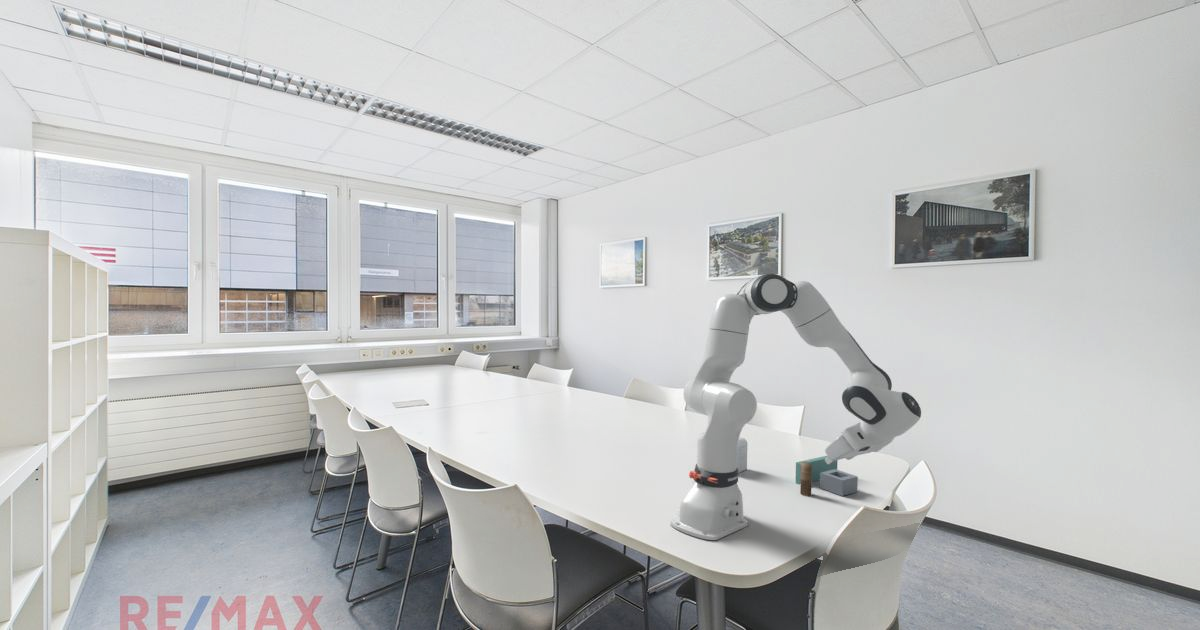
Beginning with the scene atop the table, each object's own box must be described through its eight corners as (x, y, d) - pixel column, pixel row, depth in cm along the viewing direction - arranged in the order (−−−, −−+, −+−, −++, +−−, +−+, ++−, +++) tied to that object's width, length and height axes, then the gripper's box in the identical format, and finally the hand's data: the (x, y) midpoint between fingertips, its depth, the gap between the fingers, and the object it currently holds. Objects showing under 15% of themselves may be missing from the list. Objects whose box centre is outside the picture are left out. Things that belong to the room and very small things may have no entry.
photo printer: (738, 466, 178) (738, 434, 178) (748, 469, 175) (749, 436, 175) (723, 473, 171) (724, 439, 171) (734, 476, 168) (734, 441, 167)
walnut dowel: (809, 496, 150) (810, 465, 150) (799, 494, 152) (799, 463, 152) (812, 494, 152) (813, 463, 152) (802, 491, 154) (802, 461, 154)
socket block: (857, 491, 154) (857, 476, 154) (842, 496, 150) (842, 480, 150) (834, 483, 161) (835, 469, 161) (819, 487, 157) (820, 472, 157)
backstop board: (837, 475, 170) (837, 456, 170) (800, 484, 160) (800, 464, 160) (832, 473, 172) (832, 454, 172) (795, 482, 162) (795, 462, 162)
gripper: (883, 422, 141) (851, 446, 149) (840, 429, 131) (809, 454, 139) (898, 440, 137) (864, 464, 146) (855, 449, 127) (822, 474, 136)
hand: (837, 459), depth 142 cm, fingers open, 8 cm apart
